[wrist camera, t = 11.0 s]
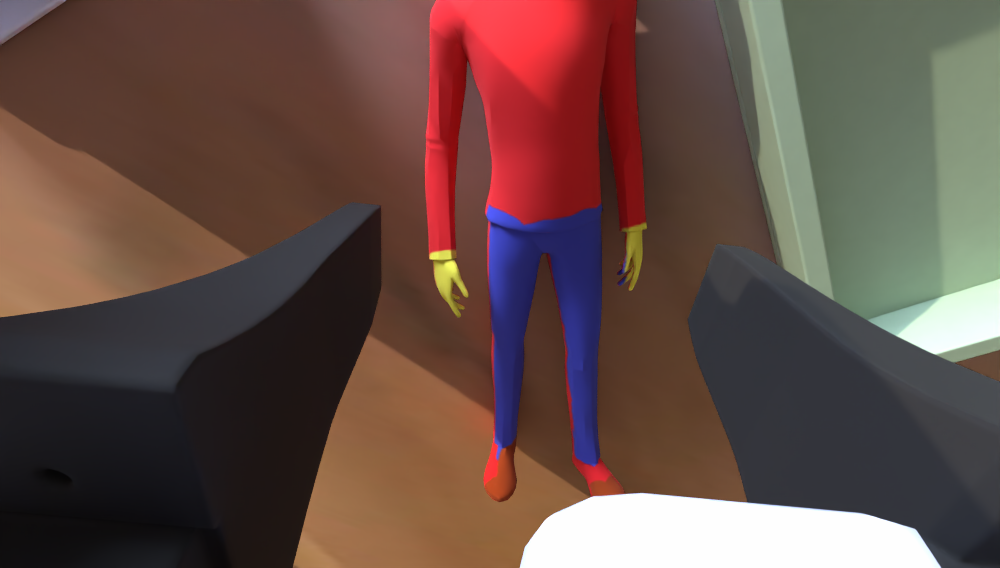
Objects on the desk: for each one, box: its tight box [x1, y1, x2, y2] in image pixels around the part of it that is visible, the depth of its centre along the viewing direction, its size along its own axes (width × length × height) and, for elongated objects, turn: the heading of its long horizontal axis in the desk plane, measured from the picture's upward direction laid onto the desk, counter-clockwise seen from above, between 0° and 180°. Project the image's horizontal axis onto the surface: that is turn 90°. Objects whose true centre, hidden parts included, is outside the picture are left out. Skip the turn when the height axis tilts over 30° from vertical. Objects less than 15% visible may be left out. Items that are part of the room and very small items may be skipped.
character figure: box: [425, 0, 647, 502], centre depth 14 cm, size 6×4×20 cm
